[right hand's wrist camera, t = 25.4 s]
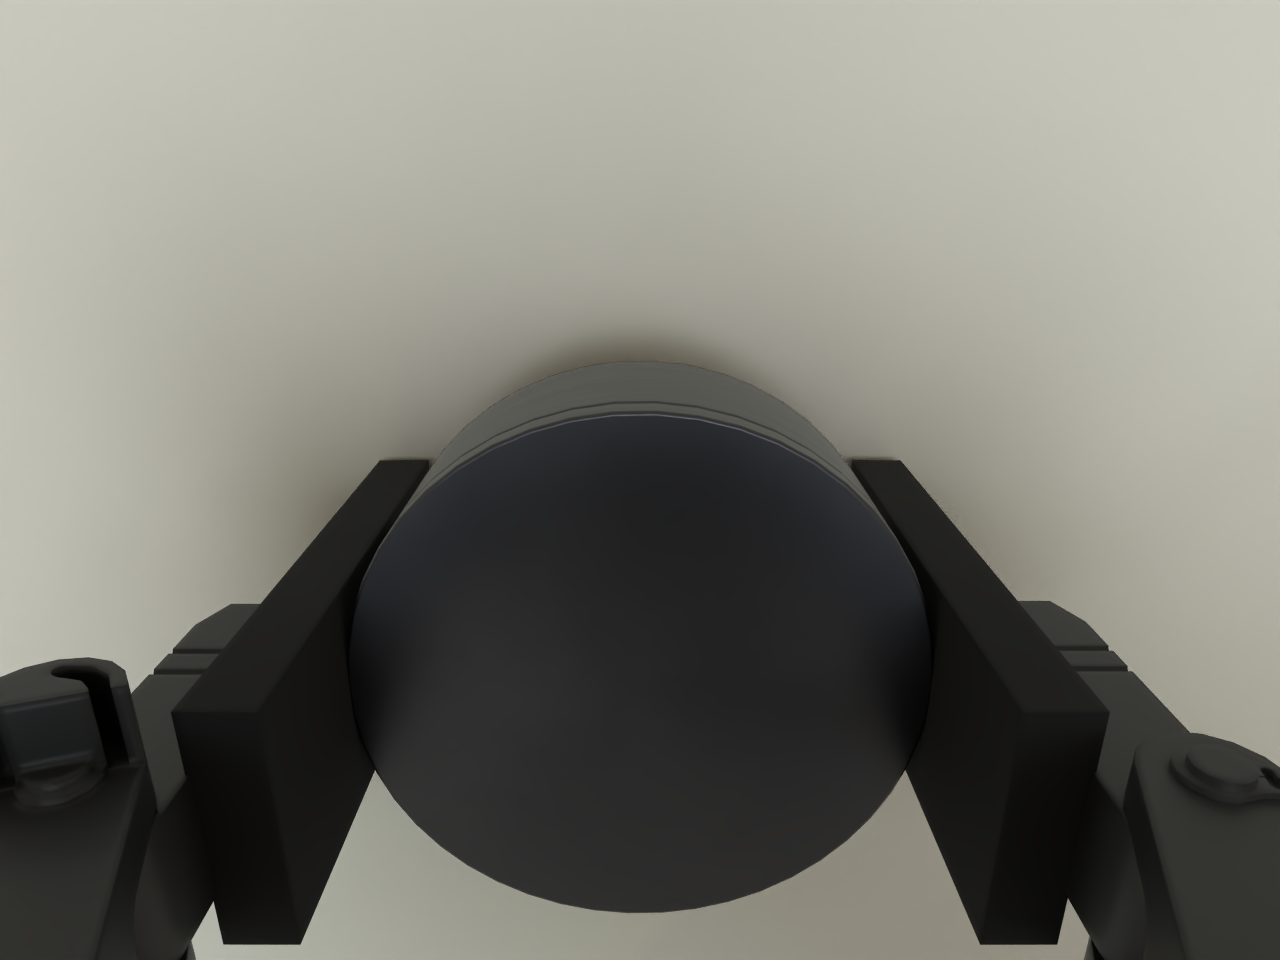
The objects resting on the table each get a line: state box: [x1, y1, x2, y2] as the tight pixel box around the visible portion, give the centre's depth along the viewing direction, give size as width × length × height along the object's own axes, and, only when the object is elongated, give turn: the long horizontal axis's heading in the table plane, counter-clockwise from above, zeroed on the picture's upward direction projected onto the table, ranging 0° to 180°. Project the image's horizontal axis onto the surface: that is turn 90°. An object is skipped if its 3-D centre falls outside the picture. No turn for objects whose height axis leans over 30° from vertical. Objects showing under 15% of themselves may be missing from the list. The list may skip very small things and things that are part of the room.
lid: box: [347, 361, 933, 913], centre depth 11 cm, size 7×7×2 cm
